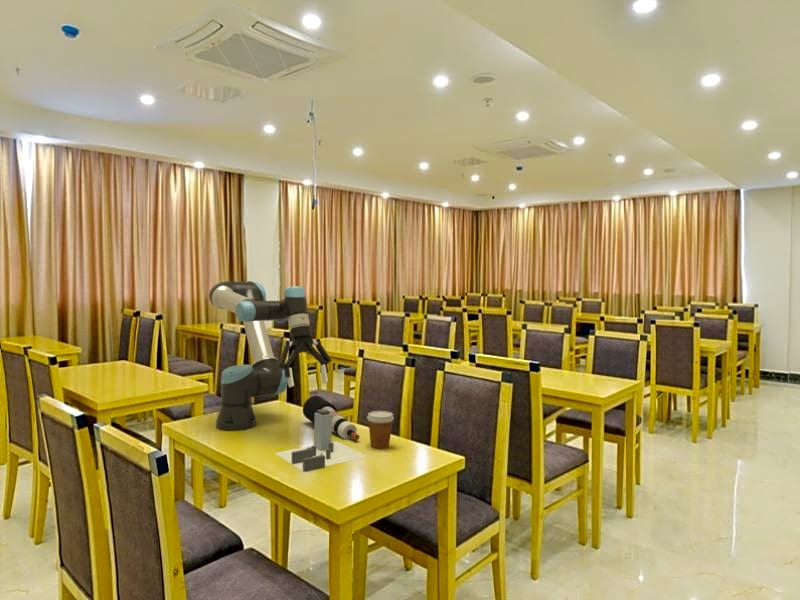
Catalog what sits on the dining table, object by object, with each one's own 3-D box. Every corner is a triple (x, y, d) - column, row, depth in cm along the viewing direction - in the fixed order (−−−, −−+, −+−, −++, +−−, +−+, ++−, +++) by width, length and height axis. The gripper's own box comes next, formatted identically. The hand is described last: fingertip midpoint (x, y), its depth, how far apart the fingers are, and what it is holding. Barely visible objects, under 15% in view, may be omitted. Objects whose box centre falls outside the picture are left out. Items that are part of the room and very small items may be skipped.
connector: (313, 447, 189) (314, 409, 188) (324, 445, 192) (324, 408, 191) (321, 450, 185) (321, 412, 185) (331, 448, 188) (332, 411, 187)
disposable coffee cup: (379, 453, 186) (380, 419, 185) (360, 447, 192) (361, 413, 191) (398, 447, 193) (399, 414, 192) (379, 441, 199) (380, 409, 198)
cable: (350, 456, 195) (341, 434, 191) (308, 424, 222) (299, 404, 218) (372, 440, 200) (363, 418, 196) (328, 410, 227) (319, 391, 223)
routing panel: (274, 454, 182) (274, 442, 182) (336, 442, 196) (336, 431, 196) (303, 473, 166) (303, 460, 165) (368, 458, 180) (368, 446, 180)
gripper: (272, 326, 190) (280, 386, 185) (334, 323, 205) (343, 379, 200) (263, 331, 195) (272, 390, 190) (324, 328, 210) (333, 382, 206)
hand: (308, 384), depth 195 cm, fingers open, 13 cm apart
